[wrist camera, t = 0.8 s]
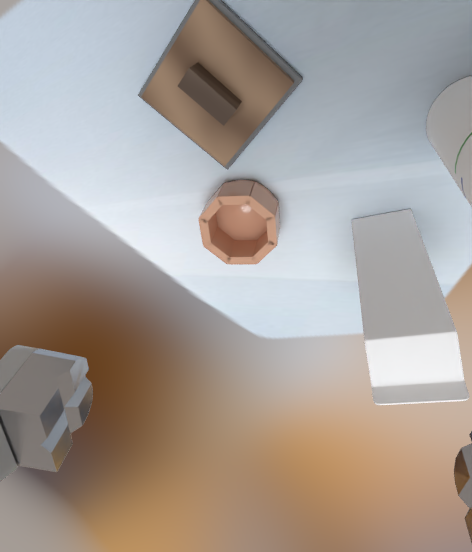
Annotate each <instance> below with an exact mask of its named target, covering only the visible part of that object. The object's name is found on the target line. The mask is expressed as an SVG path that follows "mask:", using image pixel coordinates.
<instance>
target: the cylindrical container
mask: <svg viewBox="0 0 472 552" xmlns="http://www.w3.org/2000/svg"><path fill="white" fill-rule="evenodd" d="M426 132H427V137H428V139H429V142H430V143H431V145H432V146H433V148H434V149H435V151H436V152H437V154H438V156H439V157H440V159H441V160H442V162H443V163H444V165H445V166H446V168H447V170H448V171H449V173H450V174H451V176H452V177H453V179H454V180H455V182H456V184H457V185H458V187H459V188H460V190H461V191H462V193H463V194H464V196H465V197H466V199H467V201H468V202H469V204H470V205H471V207H472V76H469V77H466V78H463V79H460V80H458V81H456V82H454V83H453V84H451V85H450V86H448V87H447V88H446V89H444V91H443V92H442V93H441V94H440V95H439V96H438V97H437V98H436V100H435V101H434V102H433V104H432V106H431V108H430V110H429V112H428V116H427V120H426Z"/></svg>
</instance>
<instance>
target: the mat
mask: <svg viewBox="0 0 472 552" xmlns="http://www.w3.org/2000/svg"><path fill="white" fill-rule="evenodd" d="M199 1H200V0H195V1H194V3H193V5H192V6H191V8H190V10H189V11H188V13H187V15H186V16H185V18H184V20H183V21H182V23H181V24H180V26H179V28H178V29H177V31H176V33H175V34H174V36H173V38H172V39H171V41H170V43H169V44H168V46H167V48H166V49H165V51H164V53H163V54H162V56H161V58H160V59H159V61H158V63H157V64H156V66H155V68H154V69H153V71H152V73H151V74H150V76H149V78H148V79H147V81H146V83H145V84H144V86H143V88H142V89H141V91H140V93H139V94H138V96H139V97H140V98H142V97H141V96H142V95H143V93H144V91H145V90H146V88H147V86H148V85H149V83H150V82H151V80H152V78H153V77H154V75H155V73H156V72H157V70H158V68H159V67H160V65H161V63H162V62H163V60H164V59H165V57H166V55H167V54H168V52H169V50H170V49H171V47H172V45H173V44H174V42H175V41H176V39H177V37H178V36H179V34H180V32H181V31H182V29H183V27H184V26H185V24H186V22H187V21H188V19H189V18H190V16H191V14H192V13H193V11H194V9H195V8H196V6H197V4H198V3H199ZM209 1H210V2H211V3H212V4H213V5H214V6H215V7H216V8H217V9H219V10H220V11H221V12H222V13H223V14H224V15H225V16H226V17H227V18H228V19H229V20H230V21H231V22H232V23H233V24H234V25H236V26H237V27H238V28H239V29H240V30H241V31H242V32H243V33H244V34H245V35H246V36H247V37H248V38H249V39H250V40H251V41H252V42H254V43H255V44H256V45H257V46H258V47H259V48H260V49H261V50H262V51H263V52H264V53H265V54H266V55H267V56H268V57H269V58H271V59H272V60H273V61H274V62H275V63H276V64H277V65H278V66H279V67H280V68H281V69H282V70H283V71H284V72H285V73H286V74H287V75H289V76H290V77H291V78H292V79H293V80H294V83H293V85H292V86H291V87H290V88H289V89H288V91H287V92H286V93H285V94H284V95H283V97H282V98H281V99H280V100H279V102H278V103H277V104H276V105H275V106H274V108H273V109H272V110H271V111H270V112H269V114H268V115H267V116H266V117H265V118H264V120H263V121H262V122H261V123H260V124H259V126H258V127H257V128H256V129H255V131H254V132H253V133H252V134H251V135H250V137H249V138H248V139H247V140H246V141H245V143H244V144H243V145H242V146H241V147H240V149H239V150H238V151H237V152H236V153H235V155H234V156H233V157H232V158H231V159H230V161H229V162H228V163H227V164H226V166H223V165H222V164H221V163H220V162H219V161H217V160H216V159H215V158H214V157H213V158H214V159H215V160H216V161H217V162H219V163H220V164H221V165H222V166H223V167H225V168H226V169H227V170H228V169H229V167H230V166H231V165H232V164H233V163H234V161H235V160H236V159H237V158H238V157H239V155H240V154H241V153H242V152H243V151H244V149H245V148H246V147H247V146H248V145H249V143H250V142H251V141H252V140H253V139H254V137H255V136H256V135H257V134H258V133H259V131H260V130H261V129H262V128H263V127H264V126H265V124H266V123H267V122H268V121H269V120H270V118H271V117H272V116H273V115H274V114H275V112H276V111H277V110H278V109H279V108H280V106H281V105H282V104H283V103H284V102H285V100H286V99H287V98H288V97H289V96H290V94H291V93H292V92H293V91H294V90H295V89H296V87H297V86H298V85H299V84H300V83H301V81H302V80H303V78H302V77H301V76H300V75H299V74H298V73H297V72H296V71H295V70H294V69H293V68H292V67H291V66H290V65H289V64H288V63H287V62H285V61H284V60H283V59H282V58H281V57H280V56H279V55H278V54H277V53H276V52H275V51H274V50H273V49H272V48H271V47H270V46H269V45H268V44H267V43H266V42H264V41H263V40H262V39H261V38H260V37H259V36H258V35H257V34H256V33H255V32H254V31H253V30H252V29H251V28H250V27H249V26H248V25H247V24H246V23H244V22H243V21H242V20H241V19H240V18H239V17H238V16H237V15H236V14H235V13H234V12H233V11H232V10H231V9H230V8H229V7H228V6H227V5H226V4H225V3H223V2H222V1H221V0H209ZM142 99H143V98H142ZM143 100H144V99H143ZM144 101H145V100H144ZM145 102H146V101H145ZM146 103H148V102H146ZM148 104H149V103H148ZM149 105H150V104H149ZM150 106H151V105H150ZM151 107H152V106H151ZM152 108H154V107H152ZM154 109H155V108H154ZM155 110H156V109H155ZM156 111H157V110H156ZM157 112H158V111H157ZM158 113H160V112H158ZM160 114H161V113H160ZM161 115H162V114H161ZM162 116H163V115H162ZM163 117H164V116H163ZM164 118H166V117H164ZM166 119H167V118H166ZM167 120H168V119H167ZM168 121H169V120H168ZM169 122H170V121H169ZM170 123H172V122H170ZM172 124H173V123H172ZM173 125H174V124H173ZM174 126H175V125H174ZM175 127H176V126H175ZM176 128H178V127H176ZM178 129H179V128H178ZM179 130H180V129H179ZM180 131H181V130H180ZM181 132H182V131H181ZM182 133H184V132H182ZM184 134H185V133H184ZM185 135H186V134H185ZM186 136H187V135H186ZM187 137H188V136H187ZM188 138H190V137H188ZM190 139H191V138H190ZM191 140H192V139H191ZM192 141H193V140H192ZM193 142H194V141H193ZM195 143H196V142H195ZM196 144H197V143H196ZM197 145H198V144H197ZM198 146H199V145H198ZM199 147H200V146H199ZM201 148H202V147H201ZM202 149H203V148H202ZM203 150H204V149H203ZM204 151H205V150H204ZM205 152H206V151H205ZM207 153H208V152H207ZM208 154H209V153H208ZM209 155H210V154H209ZM210 156H211V155H210ZM211 157H212V156H211Z"/></svg>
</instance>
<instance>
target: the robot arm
mask: <svg viewBox="0 0 472 552" xmlns="http://www.w3.org/2000/svg"><path fill="white" fill-rule="evenodd" d="M88 370H89V368H88V364H87V360H86V358H83V357H79V356H74V355H69V354H64V353H59V352H53V351H49V350H44V349H37V348H32V347H27V346H21V345H17V346H15V347H13V348H11V349H10V350H9V351H8V352H7V353H6V354H5V355H4V356H3V358H2V359H1V360H0V482H1V481H2V480H3V479H4V478H6V477H7V476H8V475H9V474H11V473H12V472H13V471H15V470H16V469H17V468H18V467H17V466H24V467H29V468H36V469H41V470H47V471H54V472H57V471H58V469H59V468H60V466H61V464H62V462H63V460H64V458H65V457H66V455H67V453H68V451H69V449H70V447H71V446H72V439H71V433H72V432H73V431H75V430H76V429H78V428H80V427H81V426H82V425H83V423H84V421H85V420H86V417H87V416H88V413H89V410H90V407H91V403H92V395H93V390H92V384H91V382H90V381H89V380H88V379H87V378H86V377H85V375H86V373H87V371H88ZM470 438H471V441H472V432H471V433H470ZM454 477H455V485H456V488H457V492H458V496H459V497H460V498H461V499H462V500H463V501H464V502H465V503H466V505H467V506H468V507H469V511H468V512H467V515H466V516H465V521H466V525H467V529H468V532H469V536H470V539H471V543H472V444H469V445H467V446H465V447H463V448H461V449H460V451H459V453H458V455H457V457H456V460H455V467H454Z"/></svg>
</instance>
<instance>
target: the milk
mask: <svg viewBox="0 0 472 552" xmlns="http://www.w3.org/2000/svg"><path fill="white" fill-rule="evenodd" d="M352 230H353V239H354V248H355V257H356V266H357V276H358V285H359V294H360V303H361V312H362V322H363V331H364V340H365V347H366V354H367V360H368V366H369V373H370V379H371V385H372V394H373V401H374V403H375V404H377V405H392V404H411V403H430V402H448V401H465V400H467V399H468V398H469V393H468V390H467V387H466V384H465V381H464V375H463V369H462V361H461V355H460V348H459V342H458V336H457V331H456V328H455V326H454V323H453V320H452V318H451V315H450V312H449V310H448V307H447V304H446V302H445V299H444V296H443V294H442V291H441V288H440V286H439V283H438V280H437V277H436V275H435V272H434V269H433V267H432V264H431V261H430V259H429V256H428V253H427V251H426V248H425V245H424V243H423V240H422V237H421V235H420V232H419V229H418V227H417V224H416V221H415V219H414V216H413V213H412V210H411V209H407V210H401V211H396V212H390V213H385V214H379V215H374V216H368V217H363V218H357V219H352Z"/></svg>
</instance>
